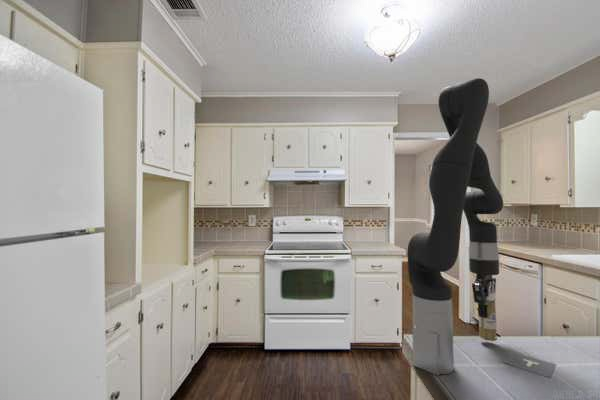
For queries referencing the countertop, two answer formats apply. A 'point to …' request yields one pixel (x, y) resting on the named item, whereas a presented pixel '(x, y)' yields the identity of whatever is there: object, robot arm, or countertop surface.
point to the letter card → (530, 364)
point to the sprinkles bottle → (489, 320)
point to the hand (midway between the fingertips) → (485, 314)
